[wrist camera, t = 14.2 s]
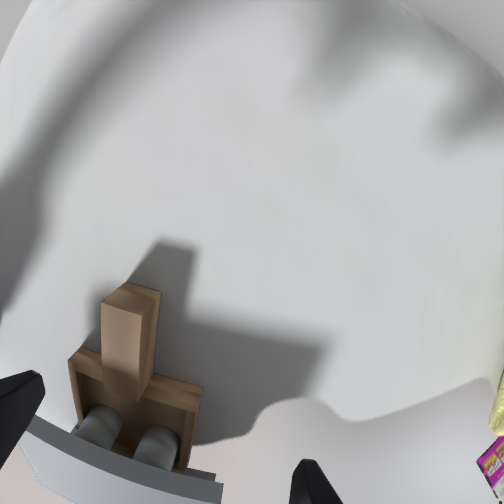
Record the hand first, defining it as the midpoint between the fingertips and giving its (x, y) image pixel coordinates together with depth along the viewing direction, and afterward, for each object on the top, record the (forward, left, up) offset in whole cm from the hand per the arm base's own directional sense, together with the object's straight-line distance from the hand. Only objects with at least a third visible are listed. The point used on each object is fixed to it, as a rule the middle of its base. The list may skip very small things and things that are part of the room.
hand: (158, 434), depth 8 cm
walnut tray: (-6, -12, -14) cm, 19 cm away
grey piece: (-6, -19, -14) cm, 24 cm away
